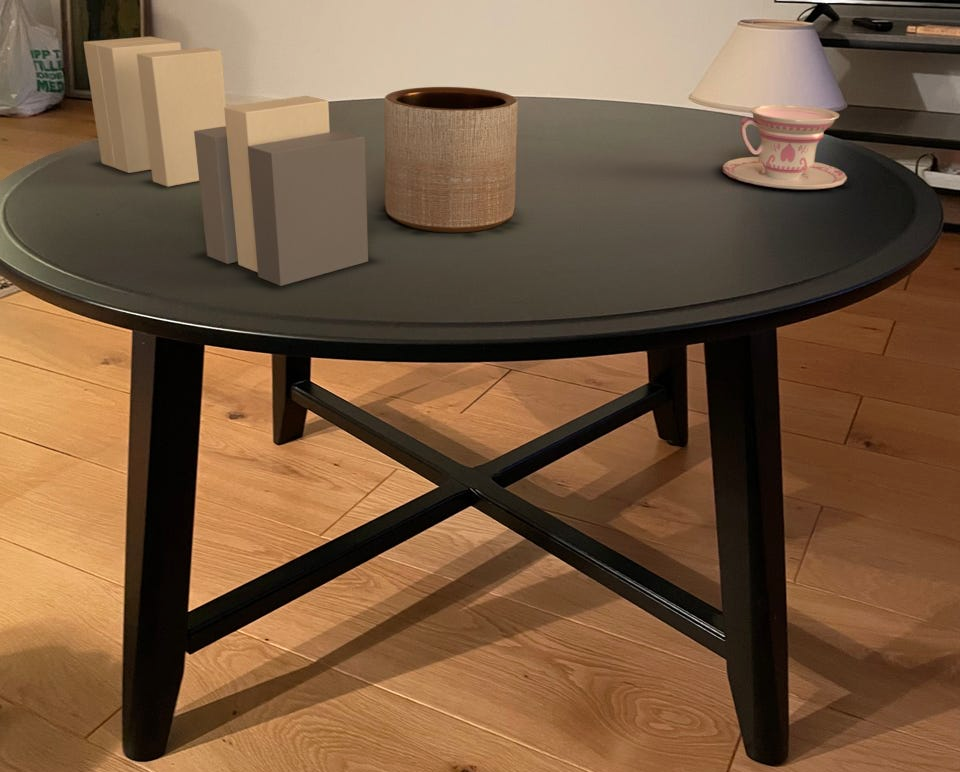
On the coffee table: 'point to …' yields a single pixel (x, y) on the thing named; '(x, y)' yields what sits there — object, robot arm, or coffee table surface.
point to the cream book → (259, 128)
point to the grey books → (289, 203)
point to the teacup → (786, 149)
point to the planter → (450, 158)
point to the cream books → (154, 104)
